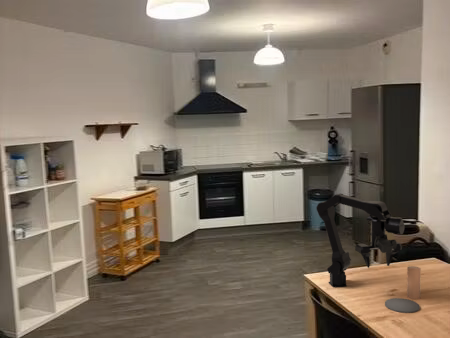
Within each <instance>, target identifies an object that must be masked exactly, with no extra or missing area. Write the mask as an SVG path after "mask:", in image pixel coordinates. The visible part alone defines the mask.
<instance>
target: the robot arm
mask: <svg viewBox="0 0 450 338" xmlns="http://www.w3.org/2000/svg"><path fill="white" fill-rule="evenodd" d="M340 204H341V205H344V206H347V207H351V208H353V209H354V208H355V209H358V210H361V211H363V212H365V213H366V214H367V215H368V217H367V218H366V219H365V220H366V221H370V229H371V230H370V232H369V236H370V240H371V241H369V245H367V244H366V243H358V244H357V243H356V245H355V247H354V248H355V249H354V250H355V252H358V253H359V254H360V255H361V256H362V258H363V260H364V263H365V264H366V267H367V268H368V269H369V268H370V265H371V264H370V263H371V262H370V256H371V253H370V251H374V250H379V251H380V253H382V254H385V259H386V266H388V267H390V265H391V263H392V259H393V257H394V256H395V255H396V254H397V253H399V251H402V244H401V243H400V242H398V241H397V240H396V239H388V234H395V235H403V234H404V232H405V228H406V227H405V226H406V225H405V221H403V218H402V217H394V216H393V215H392V213H391V212H390V210H388V207H387V204H386V203H385V202H384V201H381V200H380V201H379V200H365V199H361V198H357V197H354V196H350V195H348V194H347V195H346V194H343V193H337V194H334V195H333V196H332V197H330V198H329V199H327V200H325V201H321V202H318V204H317V206H316V212H317V214H318V216H319V218H320V219H321V220H322V221H323V223H324V227H325V230H326V234H327V237H328V241H329V245H330V249H331V251H332V252H331V265H329V267H328V268H327V273H328V274H329V281H328V282H327V283H328V284H329V285H331V287H333V288H341V287H347V286H348V285H347V275H346V272H345V271H347V269H348V268H349V266H350V265H351V261H352V259H351V257H350V253H349V251H345V249H343V245H342V241H341V238H340V235H339V231H338V228H337V224H336V221H335V214H336V209H335V208H336V207H337V206H339V205H340ZM386 233H388V234H386Z"/></svg>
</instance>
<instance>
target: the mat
mask: <svg viewBox="0 0 450 338" xmlns="http://www.w3.org/2000/svg"><path fill="white" fill-rule="evenodd" d="M384 305H385V307H386V308H387V309H388V310H390V311H393V312H396V313H403V314H413V313H417V312H419V311H420V307H421V306H420V304H419V303H418V302H416V301H414V300H413V299H410V298H402V297H401V298H400V297H393V298H389V299H386V300H385V301H384Z"/></svg>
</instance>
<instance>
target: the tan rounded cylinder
mask: <svg viewBox="0 0 450 338" xmlns="http://www.w3.org/2000/svg"><path fill="white" fill-rule="evenodd" d="M406 270H407V271H406V273H407V274H406V276H407V277H406V297H407V299H410V300H420V299H421V275H422V274H421V273H422V272H421V271H422V268H421V267H419V266H415V265H414V266H413V265H411V266H410V265H409V266H407V268H406Z"/></svg>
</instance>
